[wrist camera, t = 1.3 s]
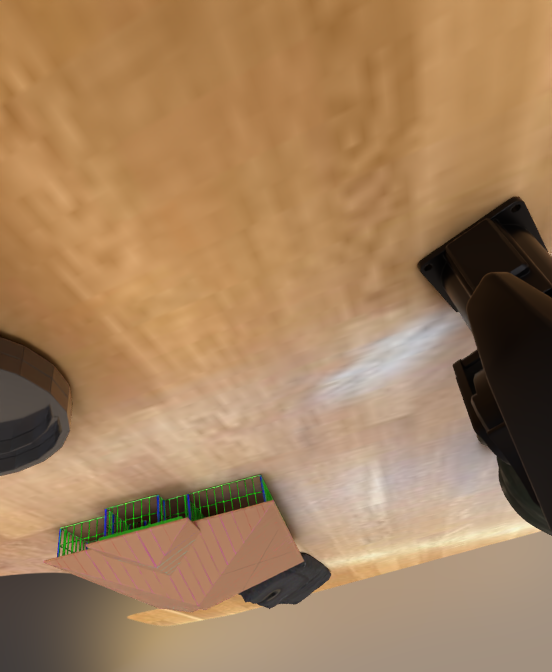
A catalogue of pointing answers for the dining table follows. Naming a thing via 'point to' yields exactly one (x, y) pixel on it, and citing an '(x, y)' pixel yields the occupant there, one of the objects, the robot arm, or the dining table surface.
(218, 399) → the dining table surface
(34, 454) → the cast iron pan
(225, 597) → the house
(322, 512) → the dining table surface
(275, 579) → the dark slate chunk
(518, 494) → the squash
